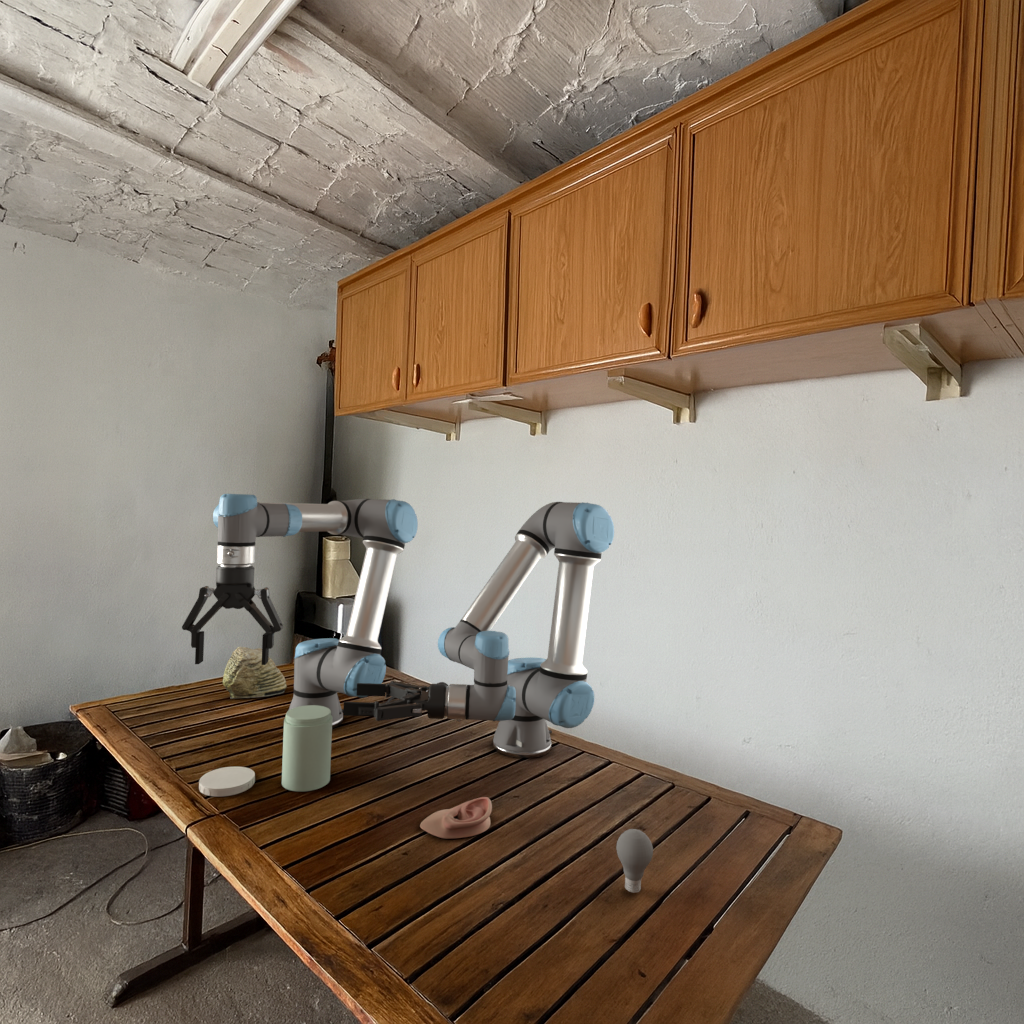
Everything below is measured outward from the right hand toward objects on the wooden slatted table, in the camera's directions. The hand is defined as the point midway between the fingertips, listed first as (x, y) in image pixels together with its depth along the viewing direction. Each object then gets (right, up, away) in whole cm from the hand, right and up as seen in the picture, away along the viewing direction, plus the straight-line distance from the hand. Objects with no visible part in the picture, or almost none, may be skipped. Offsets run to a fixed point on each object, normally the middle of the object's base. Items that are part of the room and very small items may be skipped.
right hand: (350, 698), depth 141 cm
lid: (-26, -16, -3) cm, 31 cm away
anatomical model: (+25, -20, -16) cm, 36 cm away
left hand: (-25, +9, -4) cm, 26 cm away
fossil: (-45, -16, +57) cm, 74 cm away
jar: (-10, -18, 0) cm, 21 cm away
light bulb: (+56, -22, -35) cm, 70 cm away
